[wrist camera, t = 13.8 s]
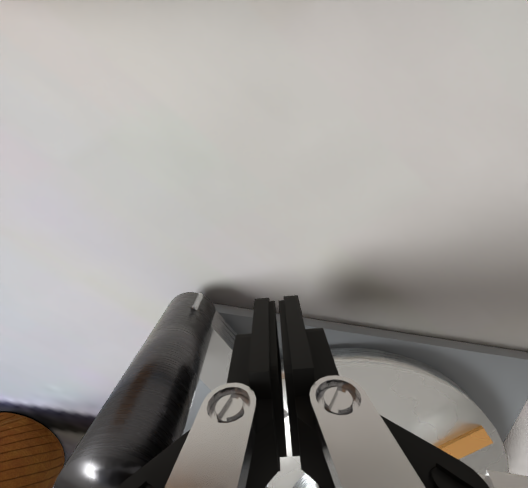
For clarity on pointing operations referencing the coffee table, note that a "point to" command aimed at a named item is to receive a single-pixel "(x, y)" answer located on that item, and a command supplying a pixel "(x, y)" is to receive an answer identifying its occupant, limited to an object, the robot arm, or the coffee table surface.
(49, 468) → the disposable coffee cup
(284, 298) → the robot arm
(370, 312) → the coffee table surface
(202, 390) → the plinth
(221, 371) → the turntable
